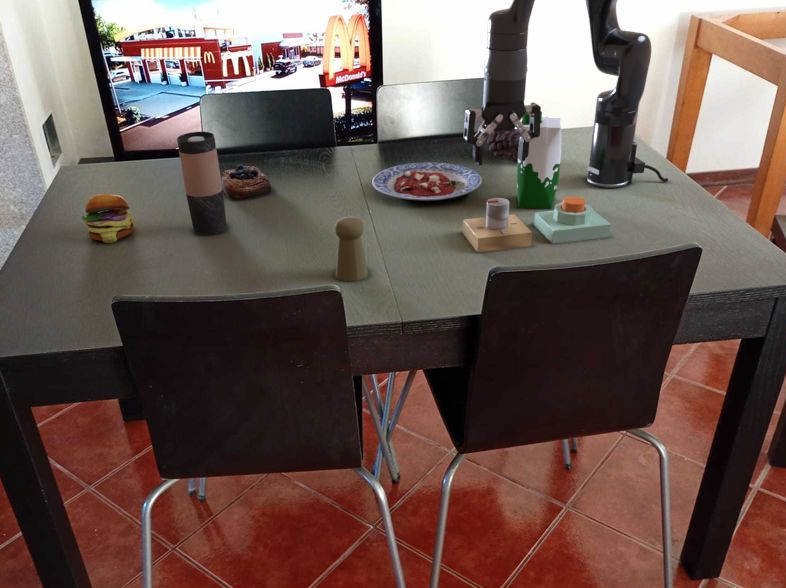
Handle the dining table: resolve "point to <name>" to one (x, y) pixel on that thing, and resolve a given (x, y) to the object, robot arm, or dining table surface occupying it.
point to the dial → (497, 213)
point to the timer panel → (496, 234)
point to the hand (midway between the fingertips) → (500, 162)
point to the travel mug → (202, 182)
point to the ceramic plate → (426, 181)
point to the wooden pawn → (350, 250)
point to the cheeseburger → (108, 218)
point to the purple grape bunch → (505, 144)
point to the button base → (571, 225)
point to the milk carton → (540, 165)
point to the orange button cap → (573, 204)
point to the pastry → (245, 183)
